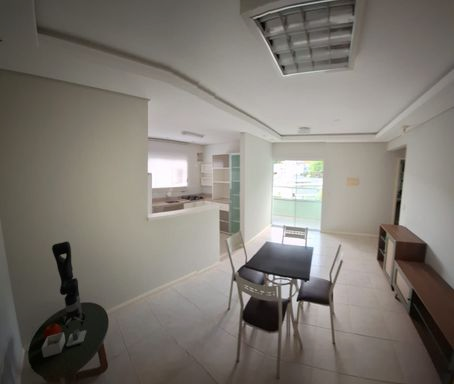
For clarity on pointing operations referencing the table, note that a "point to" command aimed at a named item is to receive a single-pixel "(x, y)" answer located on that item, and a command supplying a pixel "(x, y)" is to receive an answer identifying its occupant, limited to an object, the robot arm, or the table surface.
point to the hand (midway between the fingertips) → (75, 326)
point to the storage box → (53, 344)
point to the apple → (52, 330)
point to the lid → (76, 337)
